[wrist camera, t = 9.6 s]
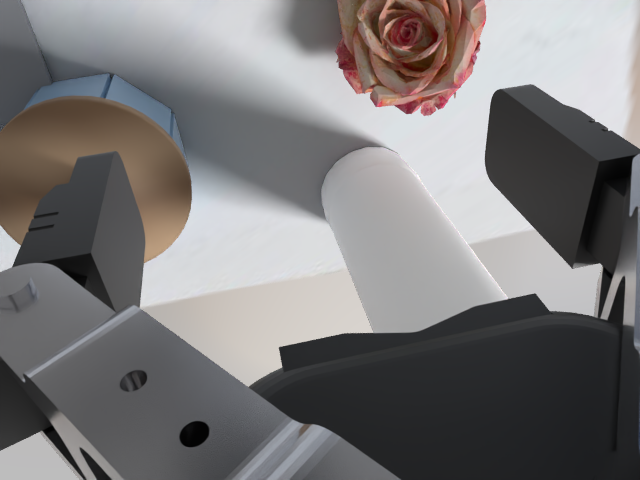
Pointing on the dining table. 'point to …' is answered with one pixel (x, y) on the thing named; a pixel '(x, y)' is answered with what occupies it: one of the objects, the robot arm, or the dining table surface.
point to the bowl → (113, 98)
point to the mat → (18, 61)
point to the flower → (409, 49)
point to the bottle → (400, 244)
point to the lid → (88, 139)
